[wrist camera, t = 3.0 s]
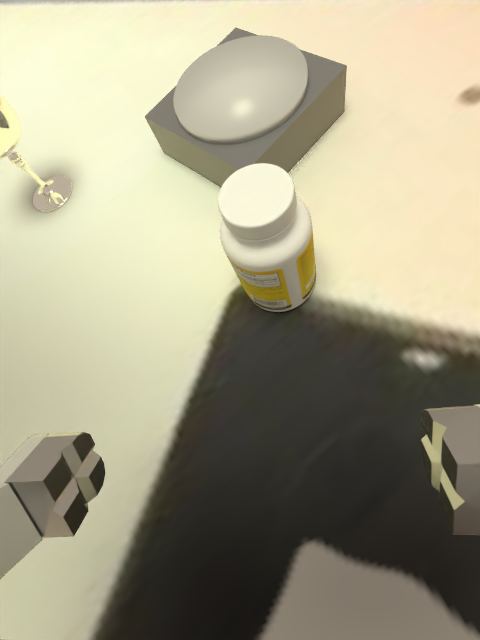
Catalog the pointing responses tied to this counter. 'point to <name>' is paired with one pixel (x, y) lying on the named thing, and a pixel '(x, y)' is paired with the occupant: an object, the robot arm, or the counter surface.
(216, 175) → the kitchen scale
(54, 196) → the wineglass
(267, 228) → the supplement bottle
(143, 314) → the counter surface
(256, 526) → the counter surface
